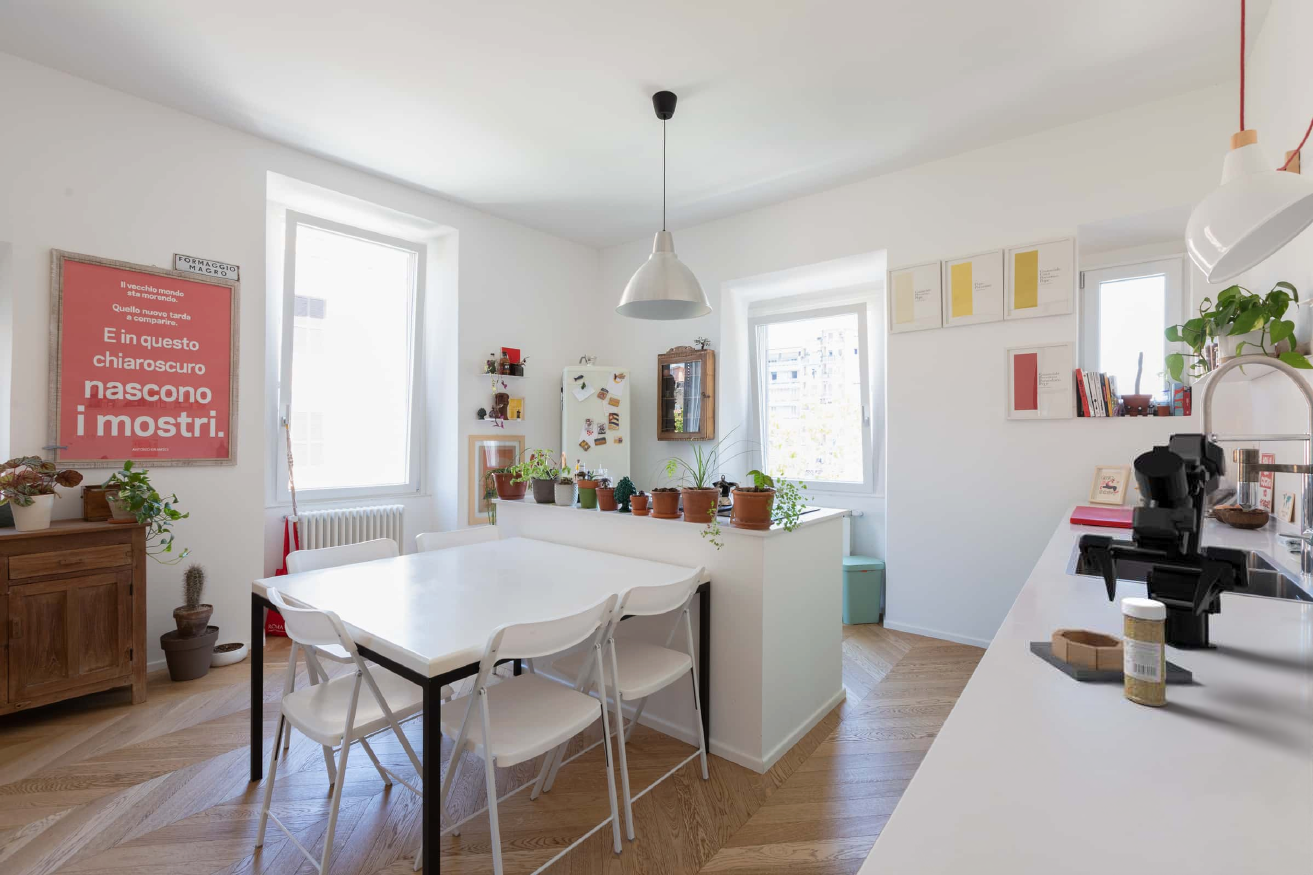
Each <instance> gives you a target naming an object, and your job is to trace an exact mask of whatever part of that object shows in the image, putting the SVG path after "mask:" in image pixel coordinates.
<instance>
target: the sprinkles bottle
mask: <svg viewBox="0 0 1313 875" xmlns="http://www.w3.org/2000/svg"><path fill="white" fill-rule="evenodd" d="M1121 603H1122V604H1121V612H1122V613H1123V614H1122V616H1123V641H1124V673H1125V682H1124V690H1123V696H1125V697H1126V698H1127V699H1129V700H1130V701H1133V702H1134V703H1136V704H1140V705H1144V706H1150V707H1151V706H1152V707H1162V706H1165V705H1166V704H1167V698H1166V682H1165V679H1166V660H1167V659H1166V654H1165V653H1166V650H1165V644H1166V643H1165V642H1164V640H1165V638H1164V621H1165V620H1164V619H1165V618H1166V607H1165V605H1164V604H1163V603H1161V602H1158V601H1154V600H1150V599H1148V598H1142V597H1125V598H1123V599H1122V601H1121Z"/></svg>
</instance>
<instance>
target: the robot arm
mask: <svg viewBox="0 0 1313 875" xmlns="http://www.w3.org/2000/svg"><path fill="white" fill-rule="evenodd" d="M1224 451H1225V450H1224V449H1223V448H1222V447H1221V446H1219V445H1217V444H1216V443H1214V442H1211V441H1209V436H1208V434H1203V433H1201V432H1200V433H1197V432H1196V433H1189V432H1188V433H1186V432H1185V433H1174V434H1170V435H1169V442H1168V444H1167V445H1153V447H1152V450H1150V451H1149V450H1148V451H1146V452H1144V453H1142V454H1140V455H1139V456H1137V457H1136V459H1134V460H1133V468H1134V476H1135V480H1136V482H1137V487H1138V490H1139V494H1140V495H1141V497H1142V498H1143V505H1142V506H1134V507H1133V508H1132V518H1131V530H1132V535H1131V541H1132V542H1133V543H1135V546H1128V545H1127V546H1126V545H1119V544H1115V542H1114V541H1115V540H1114V539H1113V536H1111V535H1102V534H1101V535H1100V534H1093V533H1092V534H1091V533H1085V534H1083V535H1082V536H1080V538H1079V541H1078V542H1079V543H1078V549H1079V552H1080V555H1081V557H1082V561H1083V564H1084V566H1086V567H1087V568H1090V569H1092V570H1093V572H1095V573H1097V574H1101V576H1102V578H1103V579H1104V583H1105V587H1106V588H1105V589H1106V592H1107V593H1106V594H1107V597H1108V599H1109V602H1112V603H1113V602H1114V600H1115V597H1116V590H1117V577H1118V572H1117V564H1118V560H1121V561H1128V562H1129V561H1130V562H1136V563H1137V562H1139V563H1145V564H1151V565H1152V568H1151V569H1148V570H1147V572H1146V591H1147V599H1150V600H1154V601H1158V602H1161V603H1163V604H1164V605H1165V607H1166V618H1165V619H1164V620H1165V621H1164V638H1165V640H1164V642H1165V644H1167V645H1168V646H1172V647H1174V648H1176V649H1193V650H1194V649H1196V650H1197V649H1199V650H1200V649H1201V650H1202V649H1203V650H1204V649H1205V650H1217V649H1218V645H1216V644H1214V643H1211V642H1210V616H1209V615H1215V614H1218V615H1219V614H1222V604H1221V602H1222V600H1221V594H1222V593H1224V592H1225V591H1228V592H1233V591H1235V590H1236V588H1237V589H1245V588H1248V587H1249V586H1250V585H1249V584H1250V568H1249V566H1250V565H1249V558H1248V557H1249V556H1248V553H1247V552H1246V551H1244V550H1243V549H1242V548H1232V547H1223V546H1214V545H1213V546H1210V545H1208V546H1206V555H1204V554H1203V553H1201V552H1202V551H1201V550H1202V542H1203V532H1204V523H1205V513H1206V507H1207V506H1206V504H1207V503H1206V502H1207V497H1208V496H1210V495H1211V494H1212V493H1214V492H1215V491H1217V490H1218V489H1219V488H1220V486H1221V485H1220V484H1221V479H1222V478H1221V477H1225V476H1226V470H1227V469H1226V466H1227V465H1226V464H1227V463H1226V458H1225V457H1226V456H1225V452H1224Z"/></svg>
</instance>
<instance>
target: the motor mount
mask: <svg viewBox="0 0 1313 875" xmlns="http://www.w3.org/2000/svg"><path fill="white" fill-rule="evenodd" d="M1029 651H1030V652H1031V653H1033V654H1034V655H1036V656H1037V657H1039V658H1041V659H1043V661H1046V662H1047V663H1048V662H1049V665H1052V666H1053V667H1055V668H1057V669H1058V670H1059V671H1061V672H1063V673H1064V674H1065V675H1068V676H1069V677H1070V678H1072V679H1073V680H1075V681H1076V682H1077V681H1079V682H1084V681H1085V682H1122V683H1123V682H1124V683H1125V673H1124V639H1123V640H1122V639H1121V638H1118V637H1116V636H1115V635H1111V634H1107V633H1103V632H1098V631H1093V630H1087V629H1081V628H1080V629H1076V628H1074V629H1073V628H1070V629H1069V628H1066V629H1065V628H1059V629H1057V630H1056V631H1054V632H1053V633H1052V634H1051V641H1030V642H1029ZM1165 683H1171V684H1172V683H1173V684H1175V683H1176V684H1177V683H1178V684H1179V683H1180V684H1184V683H1185V684H1192V683H1193V672H1192V671H1190V670H1187V669H1185V668H1183V667H1181V666H1179V665H1177V664H1175V663H1172V662H1171V661H1169V660H1167V659H1166V679H1165Z"/></svg>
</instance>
